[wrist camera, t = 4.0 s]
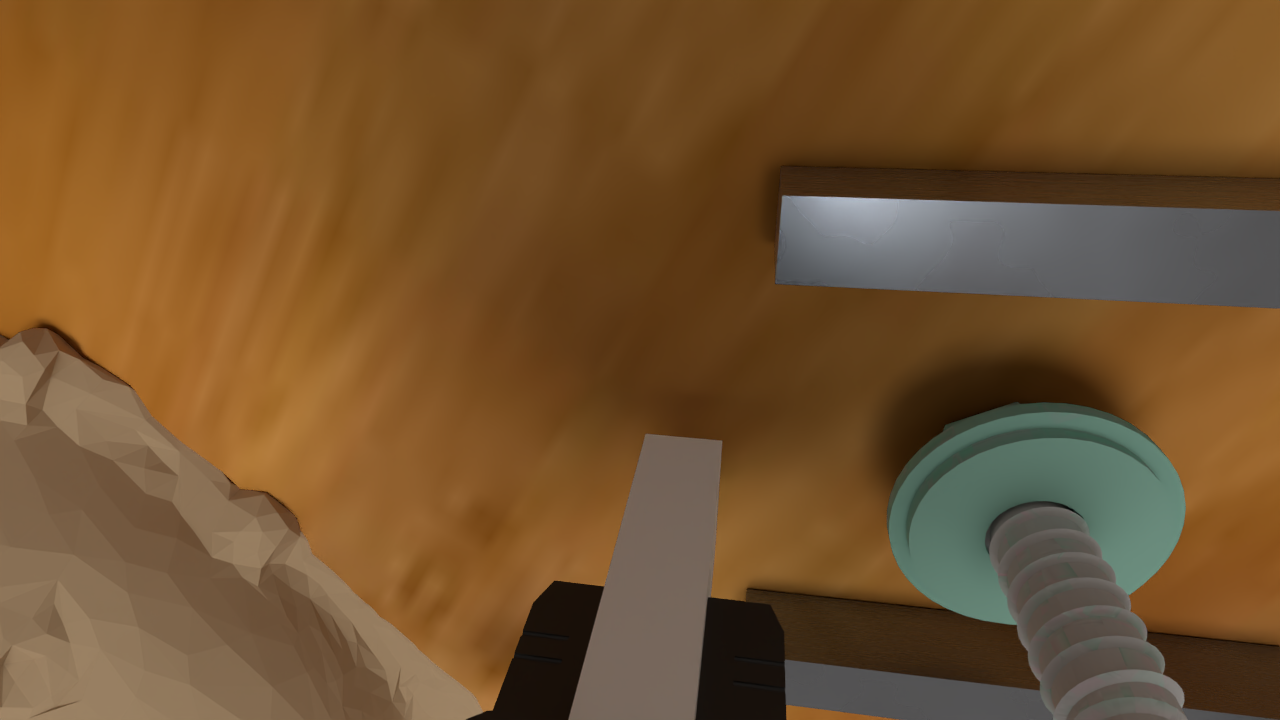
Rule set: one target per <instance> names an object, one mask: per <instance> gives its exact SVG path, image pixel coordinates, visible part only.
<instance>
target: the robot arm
mask: <svg viewBox="0 0 1280 720" xmlns="http://www.w3.org/2000/svg"><path fill="white" fill-rule="evenodd" d="M721 454H722V441H721V440H710V439H698V438H687V437H676V436H665V435H654V434H645V438H644V442H643V445H642V449H641V453H640V457H639V460H638V464H637V468H636V471H635V475H634V479H633V482H632V486H631V490H630V494H629V497H628V501H627V505H626V508H625V512H624V516H623V519H622V523H621V527H620V531H619V534H618V538H617V542H616V545H615V549H614V553H613V556H612V560H611V564H610V568H609V571H608V575H607V579H606V582H605V586H604V587H603V586H595V585H587V584H578V583H570V582H562V581H554V582H553V583H552V584H551V585H550V586H549V587H548V588H547V589H546V590H545V591H544V592H543V593H542V594H541V595H540V596H539V597H538V598H537V600H536V601H535V602H534V603H533V605H532V608H531V610H530V613H529V616H528V618H527V621H526V624H525V626H524V629H523V635H522V636H521V637H520V640H519V642H518V645H517V648H516V650H515V655H514V659H512V661H511V664H510V666H509V669H508V672H507V674H506V677H505V679H504V682H503V685H502V687H501V690H500V693H499V695H498V698H497V701H496V703H495V706H494V709H493V711H486V712H483V713H481V714H478V715H475V716H473V717H470V718H468V719H466V720H786V694H785V688H786V686H785V641H784V631H783V629H782V627H781V625H780V623H779V621H778V619H777V617H776V615H775V613H774V611H773V609H772V607H771V605H770V604H761V603H753V602H744V601H736V600H728V599H719V598H711V588H712V577H713V567H714V556H715V545H716V530H717V514H718V499H719V484H720V469H721Z"/></svg>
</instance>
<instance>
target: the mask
mask: <svg viewBox="0 0 1280 720" xmlns="http://www.w3.org/2000/svg"><path fill="white" fill-rule="evenodd" d="M481 713H483V711H482V709H481V707H480V705H479V703H478V701H477V699H476V697H475V696H474V695H473V694H472V693H471V692H470V691H468V690H467V689H466V688H465V687H464V686H462V685H461V684H460V683H459V682H457V681H456V680H455V679H454V678H452V677H451V676H449V675H448V674H447V673H445V672H444V671H443V670H442V669H440V668H439V667H438V666H437V665H436V664H434V663H433V662H432V661H431V660H430V659H429V658H428V657H427V656H426V655H424V654H423V653H422V652H421V651H419V650H418V648H417V647H416V646H415V645H414V644H413V643H412V642H411V641H410V640H409V639H408V638H406V637H405V636H404V635H403V634H402V633H401V632H400V631H399V630H397V629H396V628H395V627H394V626H393V625H392V624H390V623H389V622H387V621H386V620H384V619H383V618H381V617H379V615H378V614H377V613H376V612H375V611H374V609H373V608H371V607H370V606H369V605H368V604H366V603H365V602H364V601H363V600H362V599H361V598H360V597H359V596H358V595H356V594H355V593H354V592H353V591H352V590H351V589H350V587H349V586H348V585H347V584H346V583H345V582H344V581H343V580H342V579H341V578H340V577H339V576H338V575H336V574H335V573H334V572H333V571H332V570H331V569H330V568H329V567H327V566H326V565H325V564H324V563H323V562H321V561H320V560H319V559H318V558H317V557H315V556H314V555H313V554H312V552H311V549H310V546H309V543H308V540H307V539H306V537H305V536H304V535H303V533H302V532H301V531H300V528H299V525H298V521H297V518H296V517H295V516H294V515H293V514H292V513H291V512H290V511H289V510H287V509H286V508H285V507H284V506H283V505H281V504H280V503H279V502H278V501H276V500H275V499H274V498H272V497H271V496H270V495H269V494H267V493H264V492H259V491H253V490H240V489H239V488H238V487H237V486H236V485H235V484H233V483H231V482H230V481H229V479H228V478H227V477H226V476H225V475H224V474H223V472H221V471H220V470H219V469H217V468H216V467H215V466H213V465H212V464H211V463H209V462H208V461H207V460H205V459H204V458H203V457H201V456H200V455H198V454H197V453H196V452H194V451H193V450H191V449H190V448H189V447H187V446H186V445H185V444H183V443H182V442H181V441H180V440H178V439H177V438H176V437H175V436H174V435H172V434H171V433H170V432H169V431H168V430H167V429H166V428H165V427H163V426H162V425H161V424H160V423H159V422H158V421H157V420H156V419H154V418H153V417H152V416H151V414H150V413H149V411H148V410H147V408H146V407H145V405H144V404H143V402H142V401H141V399H140V398H139V396H138V395H137V393H136V392H135V390H133V389H132V388H131V387H130V386H129V385H128V384H126V383H125V382H123V381H122V380H120V379H119V378H117V377H115V376H114V375H112V374H111V373H109V372H108V371H106V370H105V369H103V368H101V367H100V366H98V365H96V364H94V363H92V362H90V361H88V360H86V359H84V358H82V357H81V356H80V355H79V354H78V353H77V352H76V351H75V350H74V349H73V348H72V347H71V346H70V345H69V344H68V343H67V342H66V341H65V340H64V339H62V338H61V337H60V336H59V335H58V334H56V333H54V332H52V331H50V330H49V329H47V328H32V329H28V330H25V331H21V332H19V333H18V334H17V335H15V336H14V337H13V338H11V339H10V340H8V339H6V338H5V337H3V336H2V335H0V720H466V719H468V718H470V717H473V716H475V715H478V714H481Z"/></svg>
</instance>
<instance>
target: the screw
mask: <svg viewBox="0 0 1280 720" xmlns="http://www.w3.org/2000/svg"><path fill="white" fill-rule="evenodd" d="M1185 509H1186V506H1185V497H1184V490H1183V487H1182V484H1181V481H1180V479H1179V476H1178V474H1177V472H1176V470H1175V469H1174V467H1173V466H1172V464H1171V462H1170V461H1169V459H1168V458H1167V457H1166V456H1165V454H1164V453H1163V452H1162V451H1161V449H1160V448H1159V447H1158V446H1157V445H1156V444H1155V443H1154V442H1153V441H1152V440H1151V439H1150V438H1149V437H1148V436H1147V435H1146V434H1145V433H1143V432H1142V431H1140V430H1139V429H1138V428H1136V427H1135V426H1133V425H1132V424H1131V423H1129V422H1127V421H1125V420H1122V419H1120V418H1118V417H1116V416H1114V415H1112V414H1110V413H1106V412H1103V411H1100V410H1097V409H1094V408H1090V407H1085V406H1079V405H1073V404H1067V403H1045V402H1042V403H1029V404H1020V403H1018V402H1014V403H1011V404H1008V405H1005V406H1002V407H999V408H996V409H993V410H990V411H987V412H983V413H980V414H977V415H974V416H971V417H968V418H965V419H962V420H959V421H956V422H953V423H950V424H947V425H945V426H944V430H943V432H942V433H940V434H939V435H937V436H935V437H934V438H933V439H932V440H930V441H929V442H928V443H927V444H926V445H924V446H923V447H922V448H921V449H920V450H918V452H917V453H916V454H915V455H914V456H913V457H912V458H911V459H910V461H909V462H908V463H907V464H906V465H905V467H904V468H903V470H902V472H901V473H900V475H899V476H898V478H897V479H896V482H895V484H894V487H893V489H892V491H891V494H890V498H889V503H888V508H887V529H888V534H889V539H890V543H891V548H892V552H893V555H894V557H895V559H896V561H897V564H898V566H899V567H900V569H901V570H902V572H903V573H904V575H905V576H906V578H907V579H908V580H909V581H910V582H911V583H912V584H913V585H914V586H915V587H916V588H917V589H918V590H919V591H920V592H921V593H923V594H924V595H925V596H927V597H928V598H929V599H931V600H932V601H934V602H936V603H938V604H939V605H941V606H943V607H945V608H947V609H949V610H951V611H954V612H957V613H959V614H962V615H964V616H968V617H972V618H976V619H979V620H983V621H990V622H997V623H1003V624H1011V625H1017V632H1018V636H1019V639H1020V641H1021V643H1022V645H1023V646H1024V647H1025V648H1026V650H1027V651H1028V662H1029V665H1030V668H1031V670H1032V672H1033V674H1034V675H1035V676H1036V678H1037V679H1038V680H1039V681H1040V694H1041V697H1042V700H1043V702H1044V704H1045V706H1046V707H1047V709H1048V710H1049V711H1050V712H1051V713H1052V714H1053V720H1188V719H1187V718H1186V716H1185V714H1184V712H1183V710H1182V707H1183V704H1184V693H1183V690H1182V688H1181V687H1180V686H1179V685H1178V683H1177V682H1175V681H1174V680H1172V679H1171V678H1170V677H1167V676H1165V675H1163V672H1164V668H1165V661H1164V657H1163V655H1162V654H1161V652H1160V651H1159V650H1158V649H1157V648H1156V647H1155V646H1153V645H1151V644H1150V643H1148V642H1146V639H1147V629H1146V626H1145V624H1144V623H1143V621H1142V620H1141V619H1140V618H1139V617H1138V616H1137V615H1136V614H1134V613H1132V612H1130V610H1131V602H1130V599H1129V596H1128V595H1130V594H1131V593H1132V592H1134V591H1135V590H1136V589H1138V588H1139V587H1140V586H1142V585H1143V584H1144V583H1145V582H1146V581H1147V580H1148V579H1150V578H1151V577H1152V576H1153V575H1154V574H1155V573H1156V572H1157V571H1158V570H1159V569H1160V567H1161V566H1162V565H1163V564H1164V563H1165V561H1166V560H1167V559H1168V558H1169V556H1170V554H1171V553H1172V551H1173V549H1174V547H1175V546H1176V544H1177V542H1178V540H1179V537H1180V534H1181V531H1182V528H1183V525H1184V517H1185Z"/></svg>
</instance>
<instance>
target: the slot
mask: <svg viewBox="0 0 1280 720" xmlns="http://www.w3.org/2000/svg"><path fill="white" fill-rule="evenodd" d="M774 248H775V284H785V285H806V286H827V287H847V288H868V289H889V290H909V291H930V292H950V293H971V294H992V295H1012V296H1033V297H1054V298H1074V299H1095V300H1115V301H1136V302H1157V303H1177V304H1198V305H1219V306H1239V307H1260V308H1280V179H1270V178H1231V177H1191V176H1152V175H1113V174H1074V173H1034V172H995V171H956V170H916V169H877V168H838V167H798V166H781V170H780V182H779V194H778V207H777V219H776V232H775V244H774ZM746 602H753V603H761V604H770V605H771V607H772V609H773V611H774V613H775V615H776V617H777V619H778V621H779V623H780V625H781V627H782V629H783V631H784V641H785V686H786V688H785V694H786V705H794V706H801V707H809V708H817V709H824V710H832V711H840V712H847V713H855V714H863V715H870V716H878V717H886V718H893V719H901V720H1053V714H1052V713H1051V712H1050V711H1049V710H1048V709H1047V707H1046V706H1045V704H1044V702H1043V700H1042V697H1041V694H1040V681H1039V680H1038V679H1037V678H1036V676H1035V675H1034V674H1033V672H1032V670H1031V668H1030V665H1029V662H1028V651H1027V650H1026V648H1025V647H1024V646H1023V645H1022V643H1021V641H1020V639H1019V636H1018V632H1017V625H1011V624H1003V623H997V622H990V621H983V620H979V619H976V618H972V617H968V616H964V615H962V614H959V613H957V612H953V611H944V610H935V609H925V608H916V607H907V606H898V605H889V604H879V603H870V602H861V601H852V600H842V599H833V598H824V597H815V596H806V595H796V594H787V593H778V592H769V591H760V590H750V589H747V594H746ZM1146 642H1148V643H1150V644H1151V645H1153V646H1155V647H1156V648H1157V649H1158V650H1159V651H1160V652H1161V654H1162V655H1163V657H1164V661H1165V668H1164V672H1163V675H1165V676H1167V677H1170V678H1171V679H1172V680H1174V681H1175V682H1177V683H1178V685H1179V686H1180V687H1181V688H1182V690H1183V693H1184V704H1183V707H1182V710H1183V712H1184V714H1185V716H1186V718H1187V719H1188V720H1280V647H1275V646H1266V645H1257V644H1248V643H1238V642H1229V641H1220V640H1211V639H1202V638H1192V637H1183V636H1174V635H1165V634H1156V633H1147V639H1146Z"/></svg>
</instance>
